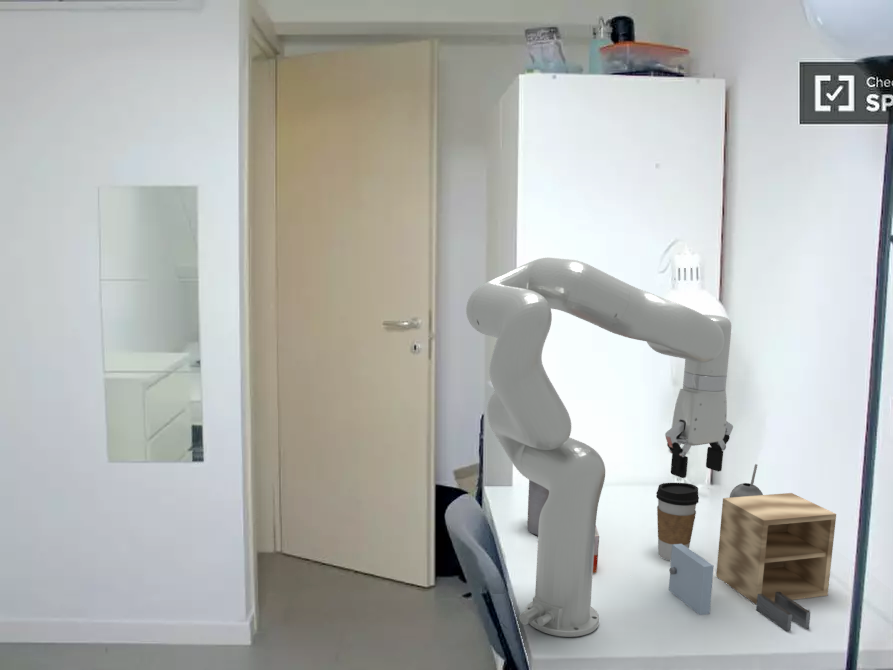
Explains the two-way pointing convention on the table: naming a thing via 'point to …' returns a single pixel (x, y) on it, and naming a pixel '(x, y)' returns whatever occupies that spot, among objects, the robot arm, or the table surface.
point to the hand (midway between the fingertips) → (696, 472)
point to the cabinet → (775, 546)
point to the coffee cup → (675, 515)
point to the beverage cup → (746, 488)
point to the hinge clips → (783, 611)
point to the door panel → (691, 578)
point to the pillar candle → (535, 505)
